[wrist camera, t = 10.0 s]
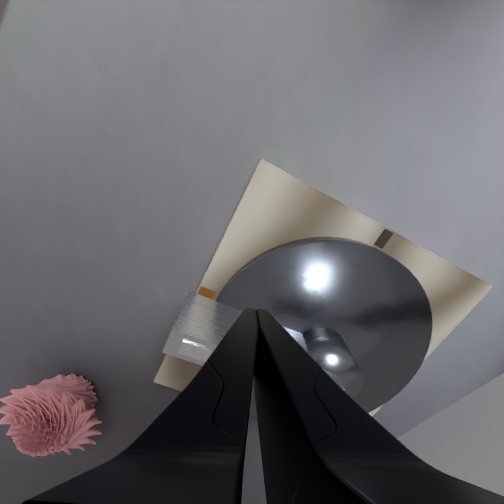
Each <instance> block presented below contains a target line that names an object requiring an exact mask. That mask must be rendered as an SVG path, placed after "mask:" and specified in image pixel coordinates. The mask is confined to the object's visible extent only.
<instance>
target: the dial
mask: <svg viewBox="0 0 504 504" xmlns="http://www.w3.org/2000/svg"><path fill="white" fill-rule="evenodd" d="M244 308H254V309H255V310H256V309H266V310H268V311H269V312H270V313H271V314H272V315H273V317H274V318H275V319H276V320H277V321H278V322H279V323H280V324H281V325H282V326H283V327H284V328H285V329H286V330H287V331H288V332H289V334H290V335H291V336H292V337H293V338H294V339H295V340H296V341H297V342H298V343H299V344H300V345H301V346H302V347H303V348H304V350H305V351H306V352H307V353H308V354H309V355H310V356H311V357H312V358H313V359H314V360H315V361H316V362H317V363H318V364H319V365H320V367H321V368H322V370H324V371H325V372H326V373H327V374H328V375H329V376H330V377H331V378H332V379H333V380H334V381H335V382H336V383H337V384H338V385H339V386H340V387H341V388H342V389H343V390H344V391H345V392H346V393H347V394H348V395H349V396H350V397H351V398H352V399H353V400H354V401H355V402H356V403H358V404H359V405H360V406H361V407H362V408H363V409H364V410H365V411H366V412H367V413H369V412H371V411H373V410H375V409H377V408H378V407H380V406H381V405H383V404H384V403H386V402H387V401H389V400H390V399H392V398H393V397H394V396H395V395H396V394H398V393H399V392H400V391H401V390H402V389H403V388H404V387H405V386H406V385H407V384H408V383H409V382H410V380H411V379H412V378H413V376H414V375H415V374H416V372H417V371H418V369H419V368H420V366H421V364H422V363H423V360H424V358H425V356H426V354H427V351H428V348H429V345H430V341H431V335H432V312H431V307H430V303H429V300H428V298H427V295H426V293H425V290H424V289H423V287H422V286H421V284H420V282H419V281H418V279H417V278H416V277H415V276H414V275H413V274H412V273H411V272H410V270H409V269H407V268H406V267H405V266H404V265H402V264H401V263H400V262H399V261H397V260H396V259H394V258H392V257H391V256H389V255H388V254H386V253H384V252H382V251H381V250H379V249H377V248H375V247H373V246H370V245H368V244H365V243H363V242H360V241H355V240H351V239H347V238H338V237H312V238H305V239H299V240H295V241H291V242H288V243H284V244H281V245H279V246H276V247H274V248H272V249H269V250H267V251H265V252H264V253H262V254H260V255H258V256H257V257H255V258H253V259H252V260H250V261H249V262H248V263H247V264H245V265H244V266H243V267H241V268H240V269H239V270H238V271H237V272H236V273H235V274H234V275H233V276H232V277H231V278H230V279H229V281H228V282H227V283H226V285H225V286H224V287H223V288H222V290H221V292H220V293H219V295H218V297H217V299H216V300H212V299H209V298H207V297H204V296H202V295H199V294H196V293H194V292H191V291H189V293H188V295H187V297H186V299H185V302H184V304H183V306H182V308H181V310H180V313H179V315H178V317H177V319H176V321H175V323H174V326H173V328H172V330H171V332H170V335H169V337H168V340H167V342H166V344H165V347H164V349H163V351H162V353H165V354H168V355H171V356H174V357H177V358H180V359H183V360H186V361H189V362H193V363H196V364H199V365H202V366H203V365H204V363H205V362H206V361H207V359H208V358H209V356H210V355H211V354H212V352H213V351H214V350H215V348H216V347H217V345H218V344H219V343H220V341H221V340H222V339H223V337H224V336H225V334H226V333H227V332H228V330H229V329H230V328H231V326H232V325H233V323H234V322H235V321H236V319H237V318H238V316H239V315H240V314H241V312H242V311H243V310H244ZM249 415H251V416H253V417H255V418H257V411H256V402H255V393H254V384H253V385H252V394H251V403H250V412H249Z"/></svg>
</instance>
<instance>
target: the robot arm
mask: <svg viewBox="0 0 504 504" xmlns="http://www.w3.org/2000/svg"><path fill="white" fill-rule="evenodd" d="M253 384H254V393H255V402H256V411H257V420H258V429H259V438H260V447H261V456H262V465H263V474H264V483H265V492H266V501H267V504H504V496H501V495H498V494H496V493H494V492H491V491H488V490H485V489H483V488H481V487H478V486H475V485H473V484H470V483H468V482H465V481H463V480H460V479H457V478H455V477H452V476H449V475H447V474H445V473H443V472H441V471H439V470H437V469H435V468H433V467H432V466H430V465H429V464H427V463H425V462H424V461H423V460H421V459H420V458H419V457H417V456H416V455H415V454H413V453H412V452H411V451H410V450H409V449H407V448H406V447H405V446H404V445H403V444H402V443H401V442H400V441H398V440H397V439H396V438H395V437H394V436H393V435H392V434H391V433H390V432H388V431H387V430H386V429H385V428H384V427H383V426H382V425H381V424H380V423H378V422H377V421H376V420H375V419H374V418H373V417H372V416H371V415H370V414H368V413H367V412H366V411H365V410H364V409H363V408H362V407H361V406H360V405H359V404H358V403H356V402H355V401H354V400H353V399H352V398H351V397H350V396H349V395H348V394H347V393H346V392H345V391H344V390H343V389H342V388H341V387H340V386H339V385H338V384H337V383H336V382H335V381H334V380H333V379H332V378H331V377H330V376H329V375H328V374H327V373H326V372H325V371H324V370H322V368H321V367H320V365H319V364H318V363H317V362H316V361H315V360H314V359H313V358H312V357H311V356H310V355H309V354H308V353H307V352H306V351H305V350H304V348H303V347H302V346H301V345H300V344H299V343H298V342H297V341H296V340H295V339H294V338H293V337H292V336H291V335H290V334H289V332H288V331H287V330H286V329H285V328H284V327H283V326H282V325H281V324H280V323H279V322H278V321H277V320H276V319H275V318H274V317H273V315H272V314H271V313H270V312H269V311H268V310H266V309H256V310H255V309H254V308H244V310H243V311H242V312H241V314H240V315H239V316H238V318H237V319H236V321H235V322H234V323H233V325H232V326H231V328H230V329H229V330H228V332H227V333H226V334H225V336H224V337H223V339H222V340H221V341H220V343H219V344H218V345H217V347H216V348H215V350H214V351H213V352H212V354H211V355H210V356H209V358H208V359H207V361H206V362H205V363H204V365H203V366H202V367H201V369H200V370H199V371H198V373H197V374H196V375H195V376H194V378H193V379H192V380H191V382H190V383H189V384H188V385H187V386H186V387H185V388H184V390H183V391H182V392H181V393H180V394H179V395H178V396H177V397H176V398H175V399H174V400H173V401H172V403H171V404H170V405H169V406H168V407H167V408H166V409H165V410H164V411H163V412H162V413H161V414H160V415H159V416H158V417H157V418H156V419H155V420H154V421H153V422H152V424H151V425H150V426H149V427H148V428H147V429H146V430H145V431H144V432H143V433H142V434H141V435H140V436H139V437H138V438H137V439H136V440H135V441H134V442H133V443H132V444H131V445H130V446H129V447H127V448H126V449H125V450H124V451H123V452H121V453H120V454H119V455H117V456H116V457H114V458H113V459H111V460H110V461H108V462H106V463H104V464H102V465H99V466H97V467H95V468H93V469H91V470H89V471H87V472H85V473H83V474H81V475H78V476H76V477H74V478H72V479H70V480H68V481H66V482H64V483H62V484H60V485H57V486H55V487H53V488H51V489H49V490H47V491H45V492H43V493H41V494H39V495H37V496H34V497H32V498H30V499H28V500H26V501H24V502H23V503H22V504H241V499H242V482H243V468H244V457H245V448H246V439H247V430H248V421H249V412H250V403H251V394H252V385H253Z"/></svg>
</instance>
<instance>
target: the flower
mask: <svg viewBox="0 0 504 504" xmlns="http://www.w3.org/2000/svg"><path fill="white" fill-rule="evenodd" d="M90 384H91V382H90V381H88V380H85V378H83V375H81V376H78V377H77V376H76V375H75V374H70V375H69V374H68V375H67V376H65V375H62V374H59V375H57V376H56V377H54V378H51V379H45V380H43V381H42V382H41V383H39V384H38V385H34V386H31V385H26V388H23V389H11V391H10V392H11V393H12V394H13V395H10V396H7V397H4V398H1V399H0V400H1V402H3V403H5V404H7V405H5V406H3V407H1V408H0V413H2V414H6V415H5V416H4V417H3V418H2V419H1V420H0V424H11V426H10V429H9V430H8V432H7V434H8V435H11V438H12V439H13V440H12V441H13V442H14V443H15V445H17V446H16V447H17V449H18V450H20V451H19V452H22V453H23V454H26V455H31V456H33V457H35V456H36V455H37V456H43V457H44V456H47V455H48V454H50V453H52V455H55V452H60V451H61V450H62V451H64V452H66V453H67V454H68V455H70V456H71V451H70V449H69V448H78V449H81V450H82V451H85V449H84V447H83V446H82V445H81V444H88V443H92V444H94V445H95V444H96V442H95V441H93V439H92V438H91V437H90V436H93V435H101V434H102V433H101V432H100V431H98V430H97V429H96V428H95V427H94V425H95V424H100V423H102V422H101V421H98V419H97V417H96V415H95V409H96V408H95V407H94V406H95V403H96V402H97V401H98V399H97V398H96V396H95V395H96V393H94V392H93V391H92V390H93V389H94V387H95V386H91V385H90ZM7 434H6V435H7Z"/></svg>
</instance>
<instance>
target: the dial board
mask: <svg viewBox="0 0 504 504" xmlns="http://www.w3.org/2000/svg"><path fill="white" fill-rule="evenodd" d="M312 237H338V238H347V239H351V240H355V241H360V242H363V243H365V244H368V245H370V246H373V247H375V248H377V249H379V250H381V251H382V252H384V253H386V254H388V255H389V256H391V257H392V258H394V259H396V260H397V261H399V262H400V263H401V264H402V265H404V266H405V267H406V268H407V269H409V270H410V272H411V273H412V274H413V275H414V276H415V277H416V278H417V279H418V281H419V282H420V284H421V286H422V287H423V289H424V290H425V293H426V295H427V298H428V300H429V303H430V307H431V312H432V335H431V341H430V345H429V348H428V351H427V354H426V356H425V358H424V360H425V359H426V358H427V357H428V356H429V355H430V354H431V353H432V352H433V351H434V350H435V349H436V348H437V347H438V345H439V344H440V343H441V342H442V341H443V340H444V339H445V338H446V337H447V336H448V335H449V334H450V333H451V332H452V330H453V329H454V328H455V327H456V326H457V325H458V324H459V323H460V322H461V321H462V320H463V319H464V318H465V317H466V315H467V314H468V313H469V312H470V311H471V310H472V309H473V308H474V307H475V306H476V305H477V304H478V303H479V302H480V300H481V299H482V298H483V297H484V296H485V295H486V294H487V293H488V292H489V291H490V290H491V289H492V288H493V287H494V286H492V285H490V284H488V283H486V282H484V281H483V280H481V279H479V278H477V277H475V276H474V275H472V274H470V273H468V272H466V271H465V270H463V269H461V268H459V267H457V266H455V265H454V264H452V263H450V262H448V261H446V260H445V259H443V258H441V257H439V256H437V255H435V254H434V253H432V252H430V251H428V250H426V249H425V248H423V247H421V246H419V245H417V244H415V243H414V242H412V241H410V240H408V239H406V238H405V237H403V236H401V235H399V234H397V233H395V232H394V231H392V230H390V229H388V228H386V227H385V226H383V225H381V224H379V223H377V222H375V221H374V220H372V219H370V218H368V217H366V216H365V215H363V214H361V213H359V212H357V211H355V210H354V209H352V208H350V207H348V206H346V205H345V204H343V203H341V202H339V201H337V200H335V199H334V198H332V197H330V196H328V195H326V194H325V193H323V192H321V191H319V190H317V189H315V188H314V187H312V186H310V185H308V184H306V183H305V182H303V181H301V180H299V179H297V178H295V177H294V176H292V175H290V174H288V173H286V172H285V171H283V170H281V169H279V168H277V167H275V166H274V165H272V164H270V163H268V162H266V161H265V160H263V159H260V160H259V162H258V164H257V166H256V168H255V170H254V172H253V174H252V176H251V178H250V181H249V183H248V185H247V187H246V189H245V191H244V193H243V195H242V197H241V199H240V201H239V203H238V205H237V208H236V210H235V212H234V214H233V216H232V218H231V220H230V222H229V224H228V226H227V228H226V230H225V233H224V235H223V237H222V239H221V241H220V243H219V245H218V247H217V249H216V251H215V253H214V255H213V257H212V260H211V262H210V264H209V266H208V268H207V270H206V272H205V274H204V276H203V278H202V280H201V282H200V284H199V287H198V289H197V291H196V294H199V295H202V296H204V297H207V298H209V299H212V300H216V299H217V297H218V295H219V293H220V292H221V290H222V288H223V287H224V286H225V285H226V283H227V282H228V281H229V279H230V278H231V277H232V276H233V275H234V274H235V273H236V272H237V271H238V270H239V269H240V268H241V267H243V266H244V265H245V264H247V263H248V262H249V261H250V260H252V259H253V258H255V257H257V256H258V255H260V254H262V253H264V252H265V251H267V250H269V249H272V248H274V247H276V246H279V245H281V244H284V243H288V242H291V241H295V240H299V239H305V238H312ZM424 360H423V362H424ZM201 367H202V365H199V364H196V363H193V362H189V361H186V360H183V359H180V358H177V357H174V356H171V355H168V354H166V355H165V357H164V359H163V361H162V364H161V366H160V368H159V370H158V372H157V375H156V377H155V379H154V382H155V383H158V384H161V385H164V386H167V387H170V388H173V389H176V390H179V391H183V390H184V388H185V387H186V386H187V385H188V384H189V383H190V382H191V380H192V379H193V378H194V376H195V375H196V374H197V373H198V371H199V370H200V369H201ZM381 407H382V405H381V406H380V407H378V408H377V409H375V410H373V411H371V412H369V413H368V414H370V415H371V416H373V415H374V414H375V413H376V412H377V411H378V410H379V409H380V408H381Z"/></svg>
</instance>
